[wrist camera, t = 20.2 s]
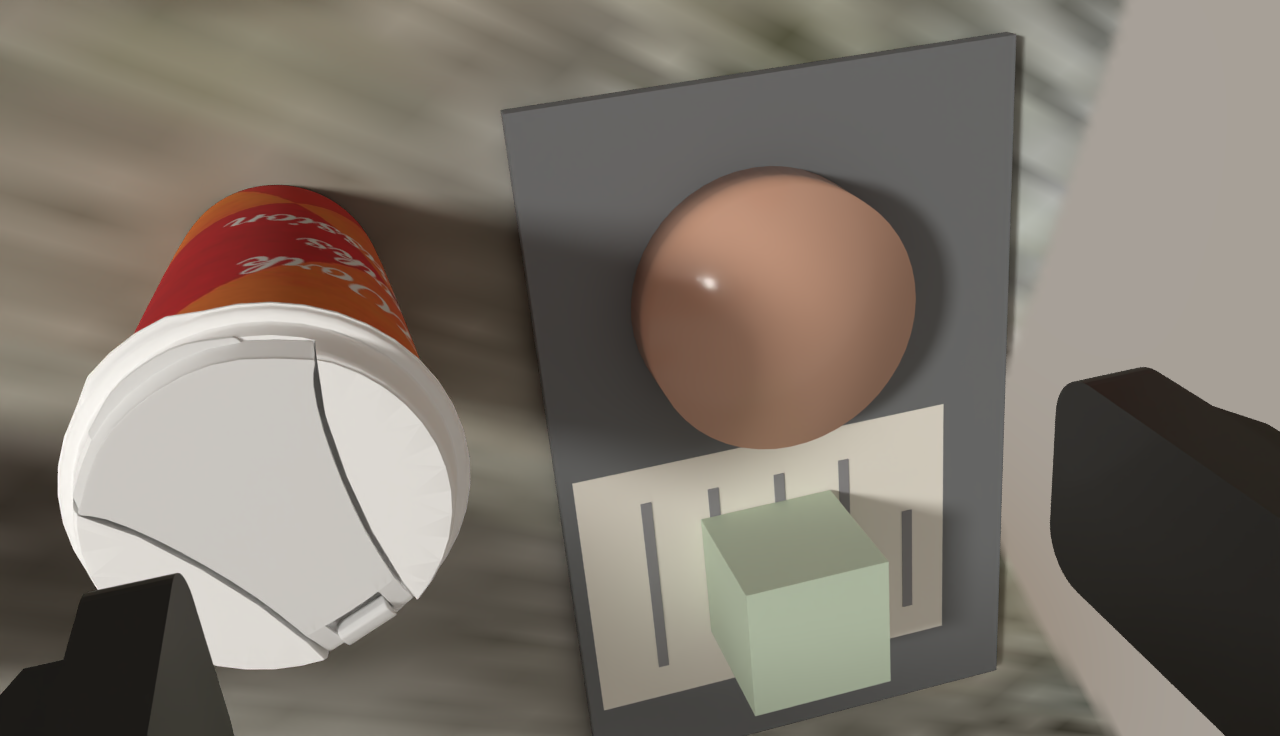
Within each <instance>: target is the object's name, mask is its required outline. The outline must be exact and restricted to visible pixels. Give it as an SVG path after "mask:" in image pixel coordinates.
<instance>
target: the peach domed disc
mask: <svg viewBox="0 0 1280 736" xmlns="http://www.w3.org/2000/svg"><path fill="white" fill-rule="evenodd" d="M915 304H916V293H915V281H914V275H913V270H912V266H911V263H910V260H909V257H908V254H907V251H906V249H905V247H904V245H903V243H902V242H901V240H900V238H899V236H898V235H897V233H896V232H895V231H894V229H893V228H892V226H891V225H890V224H889V223H888V222H887V221H886V220H885V219H884V218H883V217H882V216H881V215H880V214H879V213H878V212H877V211H876V210H874V209H873V208H872V207H870V206H869V205H868V204H866V203H865V202H863V201H862V200H860V199H859V198H857V197H856V196H854V195H852V194H851V193H849V192H848V191H846V190H845V189H843V188H842V187H840V186H838V185H837V184H835V183H834V182H832V181H830V180H828V179H826V178H824V177H822V176H820V175H818V174H815V173H812V172H809V171H806V170H803V169H797V168H792V167H783V166H764V167H754V168H749V169H745V170H740V171H736V172H733V173H731V174H728V175H725V176H722V177H720V178H718V179H716V180H714V181H712V182H710V183H708V184H706V185H704V186H702V187H701V188H700V189H698V190H697V191H695V192H694V193H692V194H691V195H689V196H688V197H687V198H686V199H684V200H683V201H682V202H681V203H680V204H679V205H678V206H676V207H675V208H674V209H673V210H672V212H671V213H670V214H669V215H668V216H667V217H666V218H665V219H664V220H663V222H662V223H661V224H660V226H659V227H658V229H657V230H656V231H655V233H654V234H653V236H652V237H651V239H650V241H649V243H648V245H647V247H646V248H645V250H644V252H643V255H642V257H641V260H640V262H639V265H638V268H637V271H636V275H635V279H634V283H633V288H632V297H631V321H632V327H633V333H634V338H635V341H636V344H637V347H638V350H639V353H640V355H641V357H642V359H643V361H644V363H645V365H646V367H647V368H648V370H649V371H650V373H651V374H652V376H653V377H654V379H655V380H656V382H657V383H658V385H659V386H660V388H661V389H662V391H663V392H664V394H665V395H666V397H667V398H668V400H669V401H670V402H671V404H672V405H673V407H674V408H675V409H676V410H677V412H678V413H679V414H680V415H681V416H682V417H683V418H684V419H685V420H686V421H687V422H689V423H690V424H691V425H692V426H694V427H695V428H696V429H697V430H699V431H701V432H702V433H704V434H706V435H708V436H709V437H711V438H713V439H716V440H718V441H721V442H723V443H726V444H730V445H734V446H738V447H742V448H751V449H778V448H785V447H791V446H795V445H799V444H803V443H807V442H809V441H812V440H814V439H817V438H820V437H822V436H824V435H826V434H828V433H830V432H832V431H834V430H836V429H838V428H839V427H841V426H842V425H844V424H845V423H847V422H848V421H850V420H851V419H853V418H854V417H855V416H856V415H857V414H859V413H860V412H861V411H862V410H863V409H865V408H866V407H867V406H868V405H869V404H870V403H871V402H872V401H873V400H874V398H875V397H876V396H877V395H878V394H879V393H880V392H881V390H882V389H883V388H884V387H885V385H886V384H887V383H888V381H889V380H890V378H891V377H892V375H893V373H894V372H895V370H896V368H897V367H898V365H899V363H900V361H901V359H902V356H903V354H904V352H905V350H906V347H907V344H908V341H909V338H910V335H911V332H912V327H913V322H914V317H915Z"/></svg>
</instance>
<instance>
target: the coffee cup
mask: <svg viewBox="0 0 1280 736" xmlns="http://www.w3.org/2000/svg"><path fill="white" fill-rule="evenodd" d="M469 490H470V456H469V451H468V447H467V442H466V437H465V433H464V429H463V426H462V424H461V421H460V419H459V417H458V414H457V412H456V409H455V407H454V404H453V403H452V401H451V399H450V398H449V396H448V395H447V393H446V392H445V390H444V388H443V387H442V385H441V384H440V382H439V380H438V379H437V378H436V377H435V376H434V375H433V374H432V372H431V371H430V370H429V369H428V368H427V367H426V366H425V365H424V364H423V362H422V361H421V360H420V358H419V356H418V353H417V351H416V348H415V346H414V343H413V340H412V338H411V335H410V333H409V330H408V328H407V325H406V322H405V320H404V317H403V315H402V312H401V310H400V307H399V305H398V302H397V300H396V297H395V295H394V292H393V290H392V287H391V285H390V283H389V280H388V278H387V275H386V273H385V271H384V268H383V266H382V263H381V261H380V259H379V257H378V255H377V253H376V251H375V248H374V246H373V244H372V243H371V241H370V239H369V238H368V236H367V234H366V233H365V231H364V230H363V228H362V227H361V226H360V224H359V223H358V222H357V221H356V220H355V219H354V218H353V217H352V216H351V215H350V214H349V213H348V212H347V211H346V210H345V209H343V208H342V207H341V206H339V205H338V204H337V203H335V202H334V201H332V200H330V199H328V198H327V197H325V196H323V195H320V194H318V193H316V192H313V191H310V190H307V189H303V188H299V187H294V186H286V185H266V186H258V187H253V188H249V189H245V190H242V191H239V192H237V193H234V194H232V195H230V196H228V197H226V198H224V199H223V200H221V201H219V202H218V203H216V204H215V205H214V206H212V207H211V208H210V209H208V210H207V211H206V212H205V213H204V214H203V215H202V216H201V217H200V218H199V219H198V220H197V222H196V223H195V224H194V225H193V227H192V228H191V229H190V231H189V232H188V234H187V235H186V237H185V238H184V240H183V242H182V243H181V245H180V247H179V249H178V250H177V252H176V254H175V256H174V257H173V259H172V261H171V263H170V265H169V267H168V269H167V270H166V272H165V274H164V276H163V278H162V280H161V282H160V284H159V286H158V288H157V290H156V292H155V293H154V295H153V297H152V299H151V301H150V303H149V305H148V307H147V309H146V311H145V313H144V315H143V317H142V319H141V321H140V323H139V325H138V327H137V329H136V331H135V333H134V334H133V335H132V336H131V337H129V338H128V339H127V340H125V341H124V342H123V343H122V344H120V345H119V346H118V347H116V348H115V349H114V350H112V351H111V352H110V353H109V354H108V355H107V356H106V357H105V358H104V359H103V360H102V361H101V362H100V363H99V365H98V366H97V367H96V368H95V369H94V370H93V371H92V372H91V373H90V374H89V375H88V377H87V379H86V382H85V385H84V388H83V390H82V393H81V396H80V399H79V401H78V404H77V407H76V409H75V412H74V414H73V417H72V419H71V421H70V424H69V426H68V429H67V431H66V433H65V436H64V439H63V444H62V449H61V454H60V459H59V464H58V499H59V504H60V510H61V515H62V521H63V524H64V527H65V530H66V532H67V535H68V537H69V540H70V542H71V545H72V548H73V550H74V552H75V553H76V555H77V556H78V558H79V560H80V561H81V563H82V565H83V566H84V568H85V569H86V571H87V573H88V575H89V577H90V578H91V580H92V581H93V583H94V585H95V586H96V588H97V590H100V589H104V588H109V587H114V586H118V585H123V584H127V583H132V582H137V581H141V580H146V579H151V578H155V577H160V576H165V575H169V574H174V573H180V574H181V575H183V577H184V578H185V580H186V582H187V584H188V586H189V588H190V591H191V594H192V597H193V600H194V603H195V606H196V609H197V613H198V616H199V619H200V623H201V626H202V629H203V632H204V636H205V639H206V642H207V645H208V649H209V652H210V655H211V659H212V662H213V665H216V666H222V667H230V668H238V669H280V668H288V667H296V666H302V665H306V664H310V663H314V662H318V661H322V660H325V659H327V657H328V653H329V651H332V650H333V649H335V648H336V647H338V646H339V645H341V644H343V643H344V642H345V643H346V644H348V645H351V644H353V643H354V642H356V641H358V640H359V639H361V638H362V637H364V636H365V635H367V634H368V633H370V632H371V631H373V630H375V629H376V628H378V627H379V626H381V625H382V624H384V623H385V622H387V621H388V620H390V619H391V618H393V617H395V616H396V615H397V613H396V612H397V611H398V610H400V609H401V608H402V607H403V606H404V605H405V604H406V603H408V602H409V601H410V600H411V599H412V598H413V597H414V596H415V598H416V599H419V598H420V596H421V595H422V594H423V592H424V591H425V590H426V588H427V587H428V586H429V584H430V583H431V582H432V580H433V579H434V577H435V575H436V573H437V571H438V569H439V567H440V566H441V564H442V563H443V562H444V560H445V559H446V557H447V556H448V554H449V552H450V550H451V548H452V546H453V544H454V542H455V540H456V538H457V536H458V534H459V531H460V528H461V525H462V522H463V519H464V516H465V513H466V510H467V504H468V497H469Z"/></svg>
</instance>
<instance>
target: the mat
mask: <svg viewBox="0 0 1280 736" xmlns="http://www.w3.org/2000/svg"><path fill="white" fill-rule="evenodd" d="M1015 58H1016V34H1012V33H1008V32H1004V33H997V34H991V35H984V36H978V37H971V38H965V39H958V40H952V41H945V42H939V43H933V44H926V45H920V46H913V47H907V48H900V49H894V50H887V51H881V52H874V53H868V54H861V55H855V56H848V57H842V58H835V59H829V60H823V61H816V62H810V63H803V64H797V65H790V66H784V67H777V68H771V69H764V70H758V71H751V72H745V73H738V74H732V75H725V76H719V77H713V78H706V79H700V80H693V81H687V82H680V83H674V84H667V85H661V86H654V87H648V88H641V89H635V90H628V91H622V92H615V93H609V94H602V95H596V96H590V97H583V98H577V99H570V100H564V101H557V102H551V103H544V104H538V105H531V106H525V107H518V108H512V109H505V110H501V116H502V122H503V129H504V136H505V143H506V150H507V156H508V163H509V170H510V177H511V184H512V190H513V197H514V204H515V211H516V218H517V224H518V231H519V238H520V245H521V252H522V259H523V265H524V272H525V279H526V286H527V293H528V299H529V306H530V313H531V320H532V327H533V333H534V340H535V347H536V354H537V361H538V367H539V374H540V381H541V388H542V395H543V401H544V408H545V415H546V422H547V429H548V435H549V442H550V449H551V456H552V463H553V469H554V476H555V483H556V490H557V497H558V503H559V510H560V517H561V524H562V531H563V537H564V544H565V551H566V558H567V565H568V571H569V578H570V585H571V592H572V599H573V605H574V612H575V619H576V626H577V633H578V639H579V646H580V653H581V660H582V667H583V673H584V680H585V687H586V694H587V701H588V707H589V714H590V721H591V728H592V735H593V736H746V735H750V734H753V733H757V732H761V731H765V730H769V729H772V728H776V727H780V726H784V725H788V724H792V723H795V722H799V721H803V720H807V719H811V718H815V717H818V716H822V715H826V714H830V713H834V712H837V711H841V710H845V709H849V708H853V707H857V706H860V705H864V704H868V703H872V702H876V701H880V700H883V699H887V698H891V697H895V696H899V695H902V694H906V693H910V692H914V691H918V690H922V689H925V688H929V687H933V686H937V685H941V684H945V683H948V682H952V681H956V680H960V679H964V678H967V677H971V676H975V675H979V674H983V673H987V672H990V671H994V670H996V662H997V630H998V599H999V567H1000V535H1001V503H1002V502H1001V501H1002V471H1003V470H1002V469H1003V438H1004V408H1005V376H1006V344H1007V312H1008V281H1009V249H1010V217H1011V185H1012V154H1013V122H1014V90H1015ZM764 166H783V167H792V168H797V169H803V170H806V171H809V172H812V173H815V174H818V175H820V176H822V177H824V178H826V179H828V180H830V181H832V182H834V183H835V184H837V185H838V186H840V187H842V188H843V189H845V190H846V191H848V192H849V193H851V194H852V195H854V196H856V197H857V198H859V199H860V200H862V201H863V202H865V203H866V204H868V205H869V206H870V207H872V208H873V209H874V210H876V211H877V212H878V213H879V214H880V215H881V216H882V217H883V218H884V219H885V220H886V221H887V222H888V223H889V224H890V225H891V226H892V228H893V229H894V231H895V232H896V233H897V235H898V236H899V238H900V240H901V242H902V243H903V245H904V247H905V249H906V251H907V254H908V257H909V260H910V263H911V266H912V270H913V275H914V281H915V293H916V304H915V317H914V322H913V327H912V332H911V335H910V338H909V341H908V344H907V347H906V350H905V352H904V354H903V356H902V359H901V361H900V363H899V365H898V367H897V368H896V370H895V372H894V373H893V375H892V377H891V378H890V380H889V381H888V383H887V384H886V385H885V387H884V388H883V389H882V390H881V392H880V393H879V394H878V395H877V396H876V397H875V398H874V400H873V401H872V402H871V403H870V404H869V405H868V406H867V407H866V408H865V409H863V410H862V411H861V412H860V413H859V414H857V415H856V416H855V417H854V418H853V419H851V420H850V421H848V422H847V423H845V424H844V425H842V426H841V427H839V428H838V429H836V430H834V431H832V432H830V433H828V434H826V435H824V436H822V437H820V438H817V439H814V440H812V441H809V442H807V443H803V444H799V445H795V446H791V447H785V448H778V449H751V448H742V447H738V446H734V445H730V444H726V443H723V442H721V441H718V440H716V439H713V438H711V437H709V436H708V435H706V434H704V433H702V432H701V431H699V430H697V429H696V428H695V427H694V426H692V425H691V424H690V423H689V422H687V421H686V420H685V419H684V418H683V417H682V416H681V415H680V414H679V413H678V412H677V410H676V409H675V408H674V407H673V405H672V404H671V402H670V401H669V400H668V398H667V397H666V395H665V394H664V392H663V391H662V389H661V388H660V386H659V385H658V383H657V382H656V380H655V379H654V377H653V376H652V374H651V373H650V371H649V370H648V368H647V367H646V365H645V363H644V361H643V359H642V357H641V355H640V353H639V350H638V347H637V344H636V341H635V338H634V333H633V327H632V321H631V297H632V288H633V283H634V279H635V275H636V271H637V268H638V265H639V262H640V260H641V257H642V255H643V252H644V250H645V248H646V247H647V245H648V243H649V241H650V239H651V237H652V236H653V234H654V233H655V231H656V230H657V229H658V227H659V226H660V224H661V223H662V222H663V220H664V219H665V218H666V217H667V216H668V215H669V214H670V213H671V212H672V210H673V209H674V208H675V207H676V206H678V205H679V204H680V203H681V202H682V201H683V200H684V199H686V198H687V197H688V196H689V195H691V194H692V193H694V192H695V191H697V190H698V189H700V188H701V187H702V186H704V185H706V184H708V183H710V182H712V181H714V180H716V179H718V178H720V177H722V176H725V175H728V174H731V173H733V172H736V171H740V170H745V169H749V168H754V167H764ZM828 490H831V492H832V493H833V494H834V495H835V496H836V498H837V499H838V500H839V501H840V503H841V504H842V505H843V506H844V508H845V509H846V510H847V511H848V512H849V514H850V515H851V516H852V517H853V519H854V520H855V521H856V522H857V523H858V525H859V526H860V527H861V528H862V530H863V531H864V532H865V533H866V535H867V536H868V537H869V538H870V539H871V541H872V542H873V543H874V544H875V546H876V547H877V548H878V549H879V551H880V552H881V553H882V554H883V555H884V557H885V558H886V559H887V560H888V562H889V615H890V673H891V681H889V682H885V683H881V684H877V685H873V686H870V687H866V688H862V689H858V690H854V691H850V692H847V693H843V694H839V695H835V696H831V697H827V698H824V699H820V700H816V701H812V702H808V703H804V704H801V705H797V706H793V707H789V708H785V709H781V710H778V711H774V712H770V713H766V714H762V715H758V716H755V715H754V713H753V711H752V709H751V707H750V705H749V703H748V701H747V699H746V697H745V695H744V693H743V691H742V690H741V688H740V686H739V684H738V682H737V680H736V678H735V676H734V674H733V672H732V670H731V668H730V666H729V665H728V663H727V661H726V659H725V657H724V655H723V653H722V651H721V649H720V647H719V645H718V643H717V641H716V640H715V638H714V636H713V634H712V632H711V622H710V611H709V600H708V590H707V579H706V568H705V557H704V547H703V536H702V525H701V519H705V518H710V517H714V516H719V515H723V514H727V513H732V512H736V511H741V510H745V509H749V508H754V507H758V506H762V505H767V504H771V503H776V502H780V501H784V500H789V499H793V498H798V497H802V496H806V495H811V494H815V493H820V492H824V491H828Z"/></svg>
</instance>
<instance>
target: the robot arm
mask: <svg viewBox="0 0 1280 736" xmlns="http://www.w3.org/2000/svg"><path fill="white" fill-rule="evenodd" d="M1050 532H1051V539H1052V544H1053V548H1054V552H1055V555H1056V558H1057V560H1058V563H1059V566H1060V568H1061V570H1062V572H1063V573H1064V575H1065V577H1066V579H1067V580H1068V582H1069V583H1070V584H1071V586H1072V587H1073V588H1074V589H1075V590H1076V591H1077V592H1078V593H1079V594H1080V595H1081V596H1082V597H1083V598H1084V599H1085V600H1086V601H1087V602H1088V603H1089V604H1090V605H1091V606H1092V607H1093V608H1094V609H1095V610H1096V611H1097V612H1098V613H1100V615H1101V616H1102V617H1103V618H1105V619H1106V620H1107V621H1108V622H1109V623H1110V624H1111V625H1112V626H1113V627H1114V628H1115V629H1116V630H1117V631H1118V632H1119V633H1120V634H1121V635H1122V636H1123V637H1124V638H1125V639H1126V640H1127V641H1128V642H1129V643H1130V644H1131V645H1132V646H1134V648H1135V649H1136V650H1137V651H1139V652H1140V653H1141V654H1142V655H1143V656H1144V657H1145V658H1146V659H1147V660H1148V661H1149V662H1150V663H1151V664H1152V665H1153V666H1154V667H1155V668H1156V669H1157V670H1158V671H1159V672H1160V673H1161V674H1162V675H1163V676H1164V677H1165V678H1166V679H1168V681H1169V682H1170V683H1171V684H1173V685H1174V686H1175V687H1176V688H1177V689H1178V690H1179V691H1180V692H1181V693H1182V694H1183V695H1184V696H1185V697H1186V698H1187V699H1188V700H1189V701H1190V702H1191V703H1192V704H1193V705H1194V706H1195V707H1196V708H1197V709H1198V710H1199V711H1200V712H1201V713H1202V714H1204V716H1206V717H1207V718H1208V719H1209V720H1210V721H1211V722H1212V723H1213V724H1214V725H1215V726H1216V727H1217V728H1218V729H1219V730H1220V731H1221V732H1222V733H1223V734H1224V735H1225V736H1280V431H1278V430H1276V429H1275V428H1273V427H1271V426H1270V425H1268V424H1266V423H1263V422H1260V421H1257V420H1253V419H1251V418H1248V417H1244V416H1241V415H1239V414H1236V413H1232V412H1229V411H1226V410H1223V409H1220V408H1217V407H1214V406H1212V405H1210V404H1209V403H1207V402H1205V401H1204V400H1202V399H1201V398H1199V397H1197V396H1196V395H1194V394H1193V393H1191V392H1189V391H1188V390H1186V389H1184V388H1183V387H1181V386H1180V385H1178V384H1177V383H1175V382H1173V381H1172V380H1170V379H1169V378H1167V377H1165V376H1164V375H1162V374H1161V373H1159V372H1157V371H1155V370H1153V369H1151V368H1147V367H1140V368H1135V369H1130V370H1126V371H1121V372H1116V373H1112V374H1107V375H1103V376H1098V377H1093V378H1089V379H1084V380H1080V381H1075V382H1071V383H1069V384H1067V385H1066V386H1065V387H1064V388H1063V390H1062V391H1061V393H1060V395H1059V398H1058V401H1057V406H1056V419H1055V438H1054V458H1053V477H1052V496H1051V515H1050ZM0 736H234V734H233V729H232V725H231V721H230V718H229V714H228V711H227V708H226V704H225V701H224V698H223V695H222V691H221V688H220V685H219V681H218V678H217V675H216V672H215V668H214V665H213V662H212V659H211V655H210V652H209V649H208V645H207V642H206V639H205V636H204V632H203V629H202V626H201V623H200V619H199V616H198V613H197V609H196V606H195V603H194V600H193V597H192V594H191V591H190V588H189V586H188V584H187V582H186V580H185V578H184V577H183V575H181V574H180V573H174V574H169V575H165V576H160V577H155V578H151V579H146V580H141V581H137V582H132V583H127V584H123V585H118V586H114V587H109V588H104V589H100V590H95V591H90V592H87V593H85V594H84V595H83V596H82V598H81V600H80V603H79V607H78V610H77V614H76V617H75V621H74V624H73V628H72V631H71V635H70V639H69V642H68V646H67V649H66V653H65V656H64V660H61V661H56V662H52V663H47V664H43V665H38V666H34V667H30V668H25V669H23V670H22V671H21V672H20V673H19V674H18V676H17V677H16V678H15V679H14V680H13V681H12V682H11V683H10V685H9V686H8V687H7V688H6V689H5V690H4V691H3V693H2V694H1V695H0Z"/></svg>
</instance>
